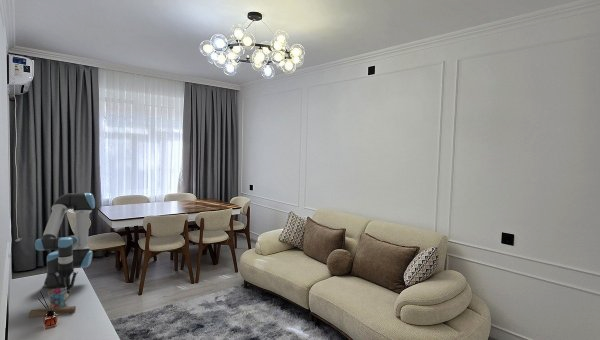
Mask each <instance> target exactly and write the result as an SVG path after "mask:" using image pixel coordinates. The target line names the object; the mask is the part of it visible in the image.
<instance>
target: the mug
mask: <svg viewBox="0 0 600 340" xmlns="http://www.w3.org/2000/svg"><path fill="white" fill-rule="evenodd" d="M66 288H67V287H65V288H58V287H57V288H52V289H50V290H48V291H47V295H48V298H49V302H50V303H49V306H48V308H52V306H53V308H58V307H67V306H66V305H67V304H66V301H67V300H68V298H69V297H70V296H71V294H72V290H71V289H70V290H67V289H66ZM66 290H67V291H70V293H69V294H68V297H67V298H66V299H64V295H65V293H66V292H67V291H66Z"/></svg>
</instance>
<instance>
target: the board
mask: <svg viewBox="0 0 600 340" xmlns="http://www.w3.org/2000/svg"><path fill="white" fill-rule="evenodd" d="M76 309H77V308H76V305H72V306H65V307H58V308H53V311H54V312H55V313H56V314H61V315H71V314H74V313H76ZM51 310H52V308H49V307H48V308H41V309H40V308H37V309H31V310H30V311H29V312H28V314H29V315H28V316H29V318H36V317H37V318H38V317H39V318H40V317H46V316H45V315H46V314H47V312H48V311H51Z"/></svg>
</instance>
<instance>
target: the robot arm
mask: <svg viewBox="0 0 600 340" xmlns="http://www.w3.org/2000/svg"><path fill="white" fill-rule="evenodd" d="M95 207H96V200H95V197H94V195H93V193H91V192H77V193H76V192H74V193H73V192H72V193H69V192H68V193H66V194H63V195H61V196H59V197H58V198H57V199H56V200H55V201H54V203H53V204H52V206H51V213H50V216H49V219H48V221H47V223H46V226H45V230H44V231H43V235H42V237H41V238H37V239H36V240H35V243H34V247H35V248H34V249H35V250H37V251H49V250H50V251H52V252H49V254H47V256H46V277H45V280H44V282H43V287H44V288H46V289H56V288H66V289H67V290H71V288H73V286H74V284H75V282H76V277H77V275H78V273H79V272H78V271H75V270H74V269H83V268H88V267H89V266H90V265H91V263H92V260H93V250H91V248H90V247H89V230H90V229H89V228H90V226H89V225H90V214H91V213H92V212H93V209H95ZM68 210H73V213H75V220H74V232H73V233H74V235H68V236H65V237H58V234H59V231H60V229H61V226H62V223H63V220H64V216H65V214H66V213H67V212H68ZM55 250H56V251H55ZM71 275H72V277H71ZM67 290H66V291H67ZM70 293H71V291H67V292H66V293H65V295H64V299H66V298H67V297H68V296H69V295H70ZM68 298H69V297H68ZM68 298H67V299H68ZM67 299H66V300H67Z"/></svg>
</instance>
